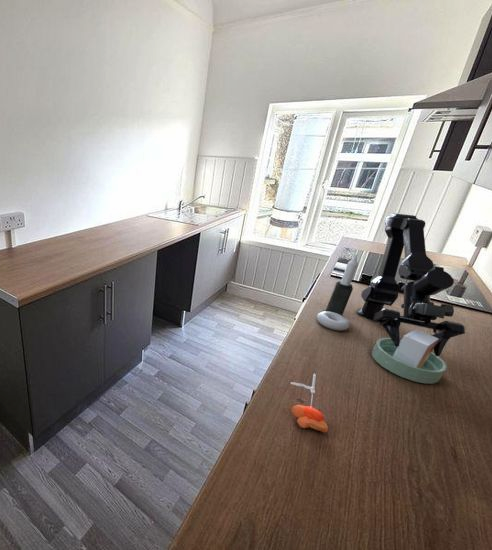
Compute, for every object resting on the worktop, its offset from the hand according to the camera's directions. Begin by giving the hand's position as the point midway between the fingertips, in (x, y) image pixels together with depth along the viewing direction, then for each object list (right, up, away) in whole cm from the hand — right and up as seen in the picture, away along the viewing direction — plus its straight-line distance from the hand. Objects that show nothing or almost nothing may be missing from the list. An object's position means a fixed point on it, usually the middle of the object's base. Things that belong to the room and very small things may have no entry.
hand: (416, 351), depth 84 cm
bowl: (+1, -6, +5) cm, 7 cm away
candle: (-2, +6, +31) cm, 31 cm away
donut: (-8, +3, +24) cm, 25 cm away
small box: (0, -6, +4) cm, 7 cm away
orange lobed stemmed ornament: (-41, -12, -15) cm, 46 cm away
